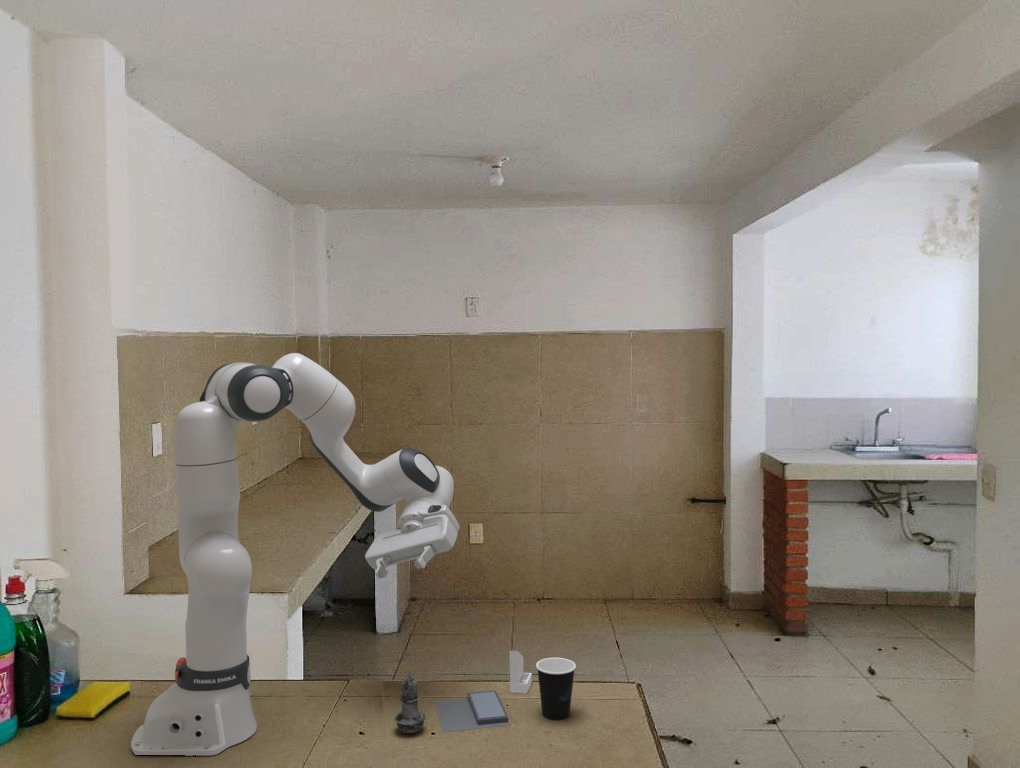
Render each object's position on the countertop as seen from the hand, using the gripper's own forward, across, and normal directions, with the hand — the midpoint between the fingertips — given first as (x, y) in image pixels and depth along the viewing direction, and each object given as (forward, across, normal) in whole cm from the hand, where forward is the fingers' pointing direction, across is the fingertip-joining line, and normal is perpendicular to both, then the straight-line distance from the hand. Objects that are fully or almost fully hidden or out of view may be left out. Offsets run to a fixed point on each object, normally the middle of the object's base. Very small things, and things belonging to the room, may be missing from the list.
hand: (399, 571), depth 170 cm
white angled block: (0, +8, +39) cm, 40 cm away
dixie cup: (+9, +19, +38) cm, 43 cm away
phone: (+10, +6, +31) cm, 33 cm away
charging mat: (+12, +4, +30) cm, 33 cm away
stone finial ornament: (+21, -3, +23) cm, 31 cm away
